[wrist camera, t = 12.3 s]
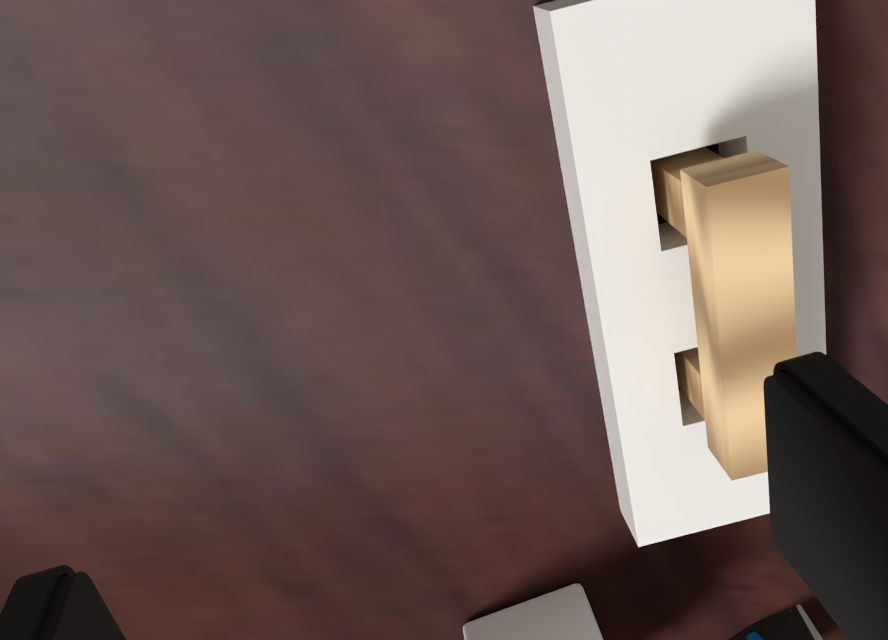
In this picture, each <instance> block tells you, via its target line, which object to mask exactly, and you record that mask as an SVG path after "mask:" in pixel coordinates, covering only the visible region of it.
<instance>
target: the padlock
mask: <svg viewBox="0 0 888 640" xmlns="http://www.w3.org/2000/svg"><path fill="white" fill-rule="evenodd" d="M729 640H823V639H822V637H821V636H820V634H819V633H818V631H817V630H816V628H815V627H814V625H813V623H812V622H811V620H810V619H809V617H808V616H807V614H806V613H805V611H804V610H803V608H802V607H801V605H800V604H799V605H797V606H794V607H792V608H790V609H787V610H785V611H783V612H781V613H778V614H776V615H774V616H771V617H769V618H767V619H764V620H762V621H760V622H758V623H755V624H753V625H751V626H748V627H747V628H745V629H743V630H742V631H741V632H739V633H738V634H736V635H735V636H733V637H732V638H731V639H729Z"/></svg>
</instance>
